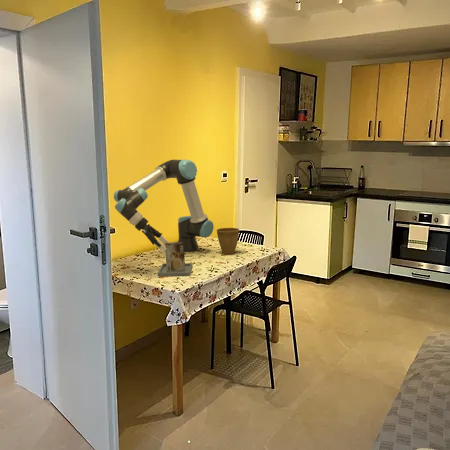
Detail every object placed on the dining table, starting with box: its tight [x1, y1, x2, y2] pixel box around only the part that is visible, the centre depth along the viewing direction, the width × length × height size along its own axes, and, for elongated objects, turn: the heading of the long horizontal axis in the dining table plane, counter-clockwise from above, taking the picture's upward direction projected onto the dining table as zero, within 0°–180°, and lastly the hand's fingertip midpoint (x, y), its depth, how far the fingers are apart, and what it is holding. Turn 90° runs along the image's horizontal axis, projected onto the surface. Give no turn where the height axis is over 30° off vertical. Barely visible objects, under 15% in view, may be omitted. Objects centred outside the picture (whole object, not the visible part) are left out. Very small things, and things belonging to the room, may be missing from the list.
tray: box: [157, 262, 193, 277], centre depth 258 cm, size 20×18×2 cm
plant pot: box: [216, 227, 240, 255], centre depth 298 cm, size 15×15×16 cm
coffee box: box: [164, 240, 186, 272], centre depth 256 cm, size 9×6×16 cm
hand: (166, 247), depth 255 cm, fingers open, 13 cm apart
